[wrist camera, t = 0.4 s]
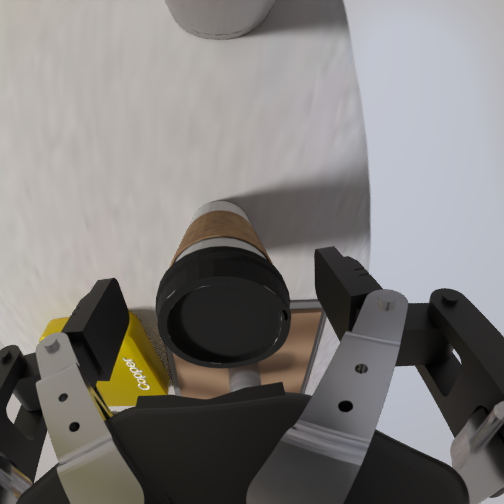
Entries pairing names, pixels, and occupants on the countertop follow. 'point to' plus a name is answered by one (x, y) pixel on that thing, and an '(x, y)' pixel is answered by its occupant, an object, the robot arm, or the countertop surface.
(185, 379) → the walnut lid
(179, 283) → the coffee cup
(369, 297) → the robot arm
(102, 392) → the element tile
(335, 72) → the countertop surface
